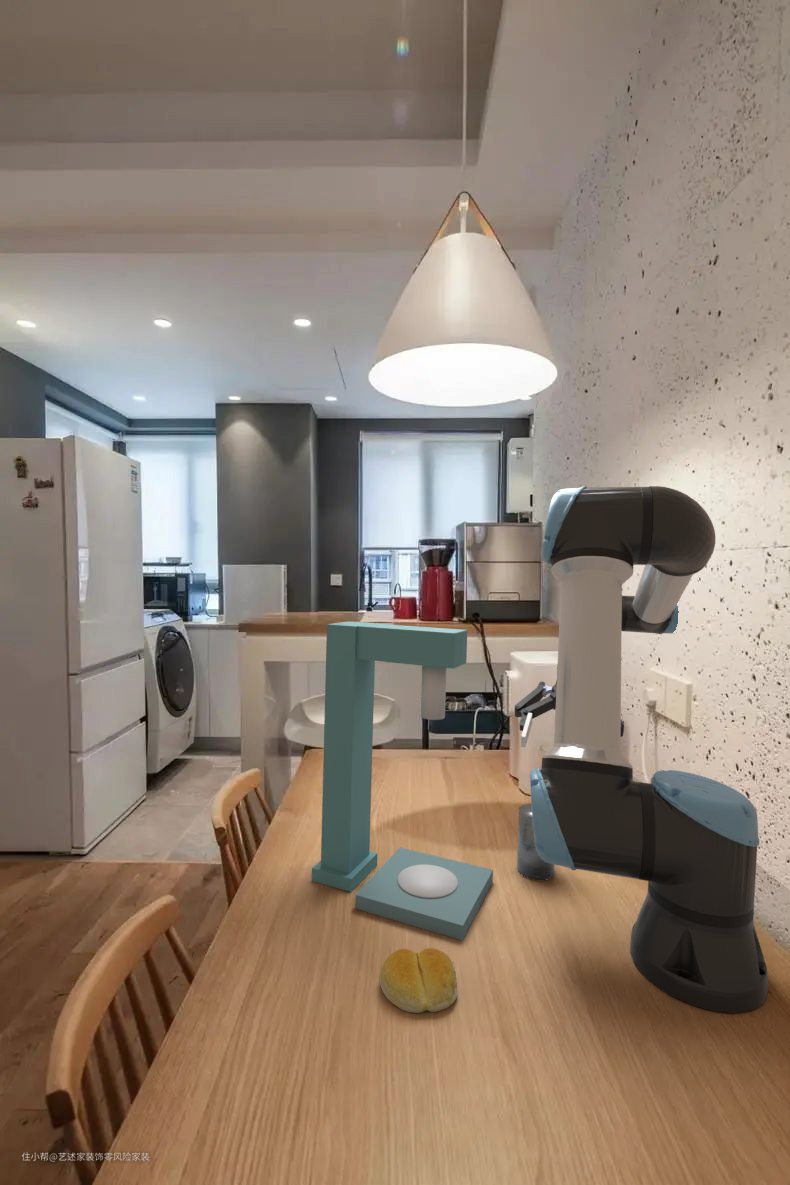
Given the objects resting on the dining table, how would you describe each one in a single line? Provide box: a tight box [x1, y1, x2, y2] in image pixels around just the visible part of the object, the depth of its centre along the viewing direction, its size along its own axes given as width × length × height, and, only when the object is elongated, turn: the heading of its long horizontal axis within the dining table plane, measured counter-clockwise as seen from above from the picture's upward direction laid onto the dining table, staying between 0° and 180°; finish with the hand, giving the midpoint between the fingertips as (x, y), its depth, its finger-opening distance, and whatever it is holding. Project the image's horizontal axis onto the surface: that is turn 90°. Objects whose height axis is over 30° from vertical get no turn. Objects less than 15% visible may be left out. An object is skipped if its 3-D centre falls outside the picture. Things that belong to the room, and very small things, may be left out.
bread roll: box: [379, 947, 459, 1014], centre depth 67 cm, size 8×9×4 cm
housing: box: [516, 803, 555, 881], centre depth 94 cm, size 6×6×12 cm
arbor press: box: [311, 621, 494, 941], centre depth 87 cm, size 26×16×40 cm, turn 66°
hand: (560, 749), depth 104 cm, fingers open, 13 cm apart
